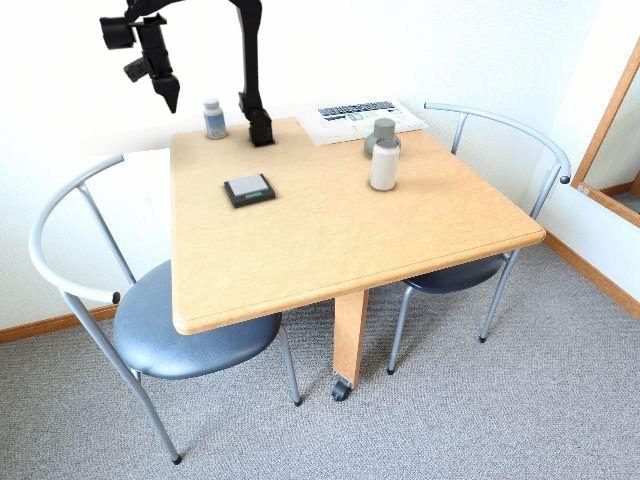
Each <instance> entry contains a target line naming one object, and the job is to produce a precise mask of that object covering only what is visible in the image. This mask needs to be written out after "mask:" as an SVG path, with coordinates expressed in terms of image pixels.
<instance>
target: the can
mask: <svg viewBox="0 0 640 480" xmlns="http://www.w3.org/2000/svg"><path fill="white" fill-rule="evenodd" d="M400 151H401V149H400V148H399V142H398V141H397V140H395V139H392V138H380V139H378V140H377V141H376V144H375V146H374V149H373V156H372V160H371V169H370V170H371V171H370V178H369V184H370V186H371V187H372V188H373V189H374V190H376V191H379V192H380V191H381V192H386V191H390V190H392V189H393V188H394V187H395V185H396V179H397V173H398V167H399V166H398V165H399V159H400Z"/></svg>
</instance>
